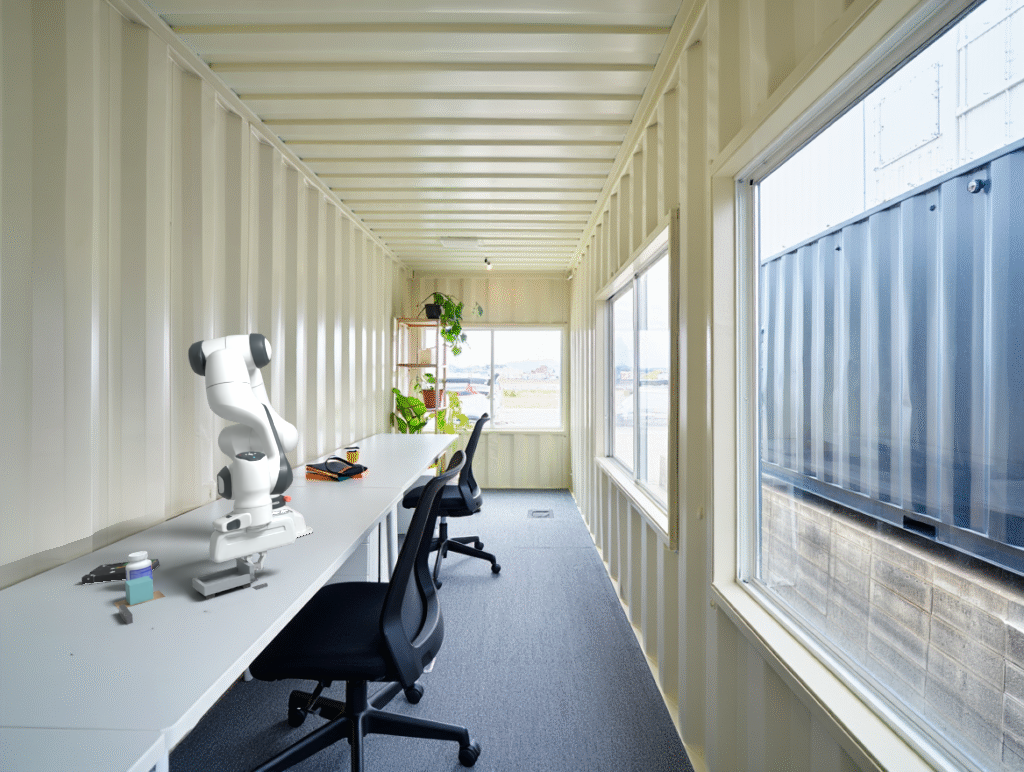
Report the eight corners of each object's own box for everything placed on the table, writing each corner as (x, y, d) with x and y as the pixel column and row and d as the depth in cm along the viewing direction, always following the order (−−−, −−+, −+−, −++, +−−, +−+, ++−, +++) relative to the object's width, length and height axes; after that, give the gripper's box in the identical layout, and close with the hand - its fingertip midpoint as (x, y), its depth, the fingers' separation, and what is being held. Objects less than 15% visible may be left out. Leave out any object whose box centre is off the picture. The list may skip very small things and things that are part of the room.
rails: (255, 579, 136) (255, 567, 136) (268, 586, 131) (267, 574, 131) (119, 619, 115) (118, 605, 115) (127, 630, 110) (126, 615, 110)
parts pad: (159, 595, 128) (159, 590, 128) (165, 601, 124) (165, 596, 124) (113, 607, 122) (113, 602, 122) (119, 614, 118) (119, 609, 118)
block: (148, 594, 126) (147, 575, 126) (153, 598, 123) (152, 579, 123) (126, 600, 123) (125, 581, 123) (130, 605, 120) (129, 585, 120)
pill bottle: (158, 588, 133) (156, 550, 133) (137, 597, 128) (135, 557, 128) (143, 586, 135) (141, 549, 135) (121, 595, 130) (119, 556, 129)
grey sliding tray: (241, 579, 134) (240, 557, 134) (254, 588, 128) (253, 565, 128) (193, 593, 126) (192, 570, 126) (205, 603, 120) (204, 578, 120)
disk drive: (81, 588, 138) (145, 579, 142) (80, 577, 137) (145, 569, 141) (100, 574, 148) (160, 566, 152) (99, 564, 147) (159, 557, 151)
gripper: (288, 506, 142) (291, 556, 142) (205, 523, 127) (208, 579, 127) (299, 509, 138) (301, 561, 138) (214, 527, 123) (217, 585, 123)
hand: (256, 570), depth 132 cm, fingers closed
